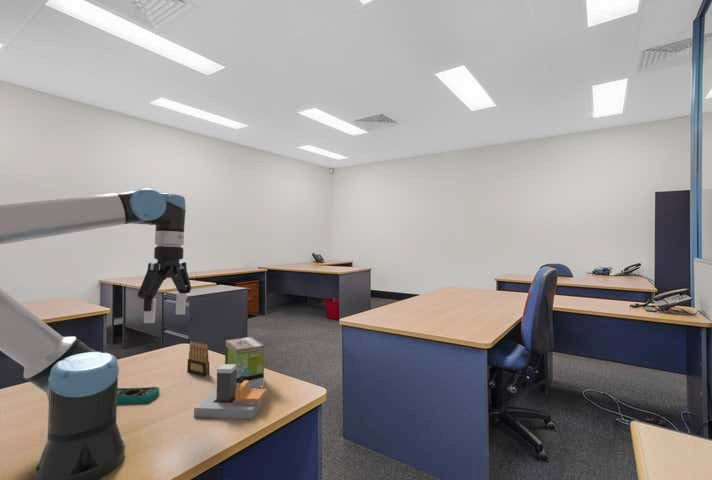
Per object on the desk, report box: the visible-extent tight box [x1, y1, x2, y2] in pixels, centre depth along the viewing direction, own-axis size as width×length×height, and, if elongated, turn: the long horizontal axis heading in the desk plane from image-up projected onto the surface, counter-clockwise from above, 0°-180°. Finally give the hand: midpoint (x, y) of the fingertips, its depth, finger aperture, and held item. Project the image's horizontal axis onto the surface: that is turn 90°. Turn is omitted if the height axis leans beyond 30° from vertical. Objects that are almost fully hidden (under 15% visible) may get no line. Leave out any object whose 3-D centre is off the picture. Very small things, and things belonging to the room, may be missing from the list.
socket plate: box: [193, 388, 268, 420], centre depth 99 cm, size 13×17×3 cm
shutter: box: [235, 380, 267, 404], centre depth 99 cm, size 7×7×4 cm
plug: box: [216, 363, 237, 403], centre depth 100 cm, size 4×4×12 cm
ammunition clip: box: [186, 340, 210, 377], centre depth 127 cm, size 11×2×12 cm, turn 63°
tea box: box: [224, 336, 266, 389], centre depth 117 cm, size 15×10×15 cm, turn 36°
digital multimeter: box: [117, 386, 160, 405], centre depth 105 cm, size 7×15×3 cm, turn 96°
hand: (165, 318), depth 96 cm, fingers open, 13 cm apart
